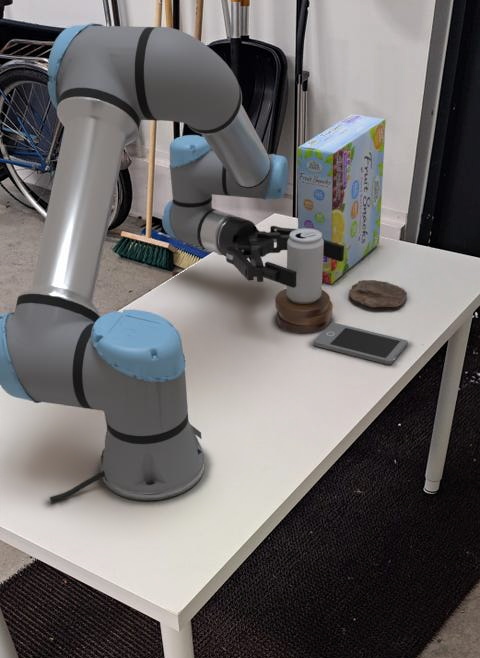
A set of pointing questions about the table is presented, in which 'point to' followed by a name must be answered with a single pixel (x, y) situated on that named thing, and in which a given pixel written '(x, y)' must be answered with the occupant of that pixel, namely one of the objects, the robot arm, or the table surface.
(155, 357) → the robot arm
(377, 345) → the smartphone
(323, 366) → the table surface
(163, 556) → the table surface
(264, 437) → the table surface
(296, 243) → the beverage can
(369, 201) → the snack box
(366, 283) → the rock
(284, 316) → the chip pile
